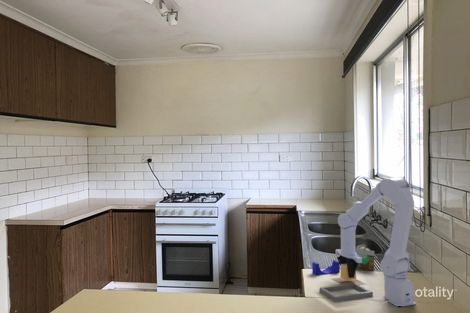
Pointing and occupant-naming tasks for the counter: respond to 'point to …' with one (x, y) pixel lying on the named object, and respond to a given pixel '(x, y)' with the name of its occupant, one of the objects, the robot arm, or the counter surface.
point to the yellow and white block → (345, 272)
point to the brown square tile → (347, 281)
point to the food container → (366, 257)
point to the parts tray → (363, 294)
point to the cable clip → (329, 270)
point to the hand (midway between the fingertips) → (348, 275)
